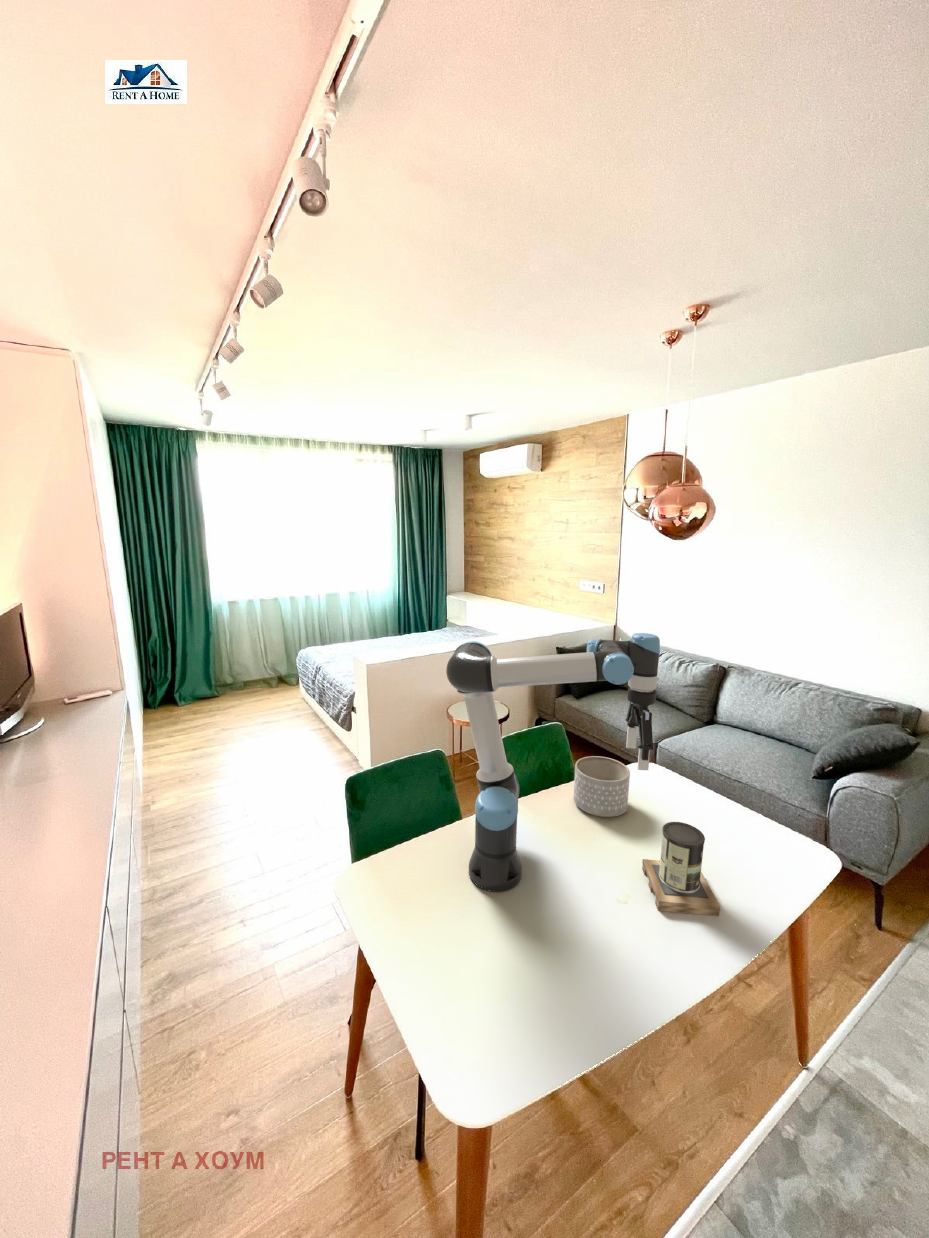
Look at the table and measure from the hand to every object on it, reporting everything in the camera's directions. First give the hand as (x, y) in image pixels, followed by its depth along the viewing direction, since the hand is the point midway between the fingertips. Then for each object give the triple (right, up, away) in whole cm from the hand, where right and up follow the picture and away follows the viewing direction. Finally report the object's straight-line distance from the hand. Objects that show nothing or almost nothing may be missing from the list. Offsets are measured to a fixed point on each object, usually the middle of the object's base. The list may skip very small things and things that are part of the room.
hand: (636, 758), depth 135 cm
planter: (-1, -27, +32) cm, 42 cm away
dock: (+8, -34, -8) cm, 36 cm away
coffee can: (+8, -31, -9) cm, 33 cm away
